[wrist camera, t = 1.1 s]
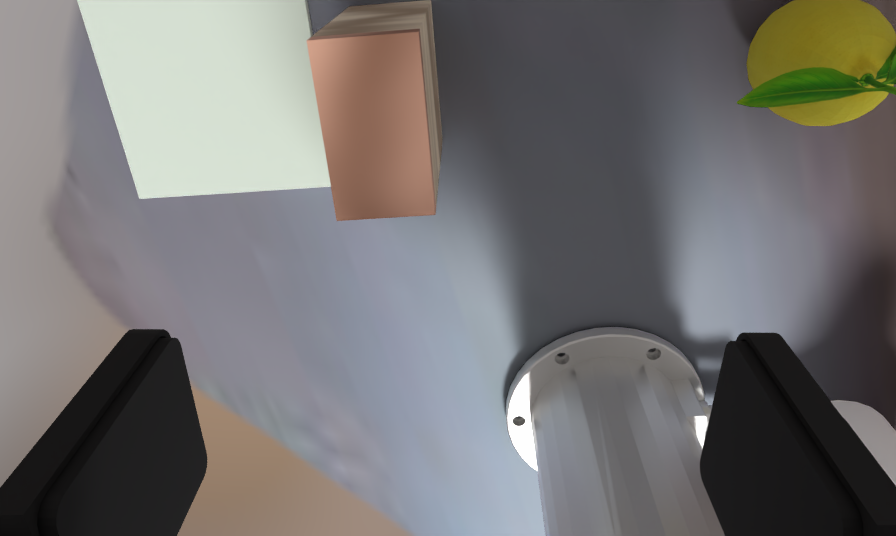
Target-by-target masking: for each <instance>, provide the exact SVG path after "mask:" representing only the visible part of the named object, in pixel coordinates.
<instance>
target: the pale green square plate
mask: <svg viewBox="0 0 896 536" xmlns="http://www.w3.org/2000/svg"><path fill="white" fill-rule="evenodd" d="M77 1H78V4H79V8H80V11H81V14H82V17H83V20H84V23H85V27H86V30H87V33H88V36H89V39H90V42H91V46H92V49H93V52H94V55H95V58H96V62H97V65H98V68H99V71H100V74H101V77H102V81H103V84H104V87H105V90H106V93H107V97H108V100H109V103H110V106H111V109H112V112H113V116H114V119H115V122H116V125H117V128H118V132H119V135H120V138H121V141H122V144H123V147H124V151H125V154H126V157H127V160H128V163H129V166H130V170H131V173H132V176H133V179H134V182H135V186H136V189H137V192H138V195H139V198H140V199H145V198H160V197H176V196H191V195H207V194H223V193H238V192H254V191H269V190H285V189H300V188H316V187H331V183H330V177H329V172H328V166H327V160H326V154H325V148H324V142H323V136H322V130H321V124H320V118H319V112H318V106H317V100H316V94H315V88H314V82H313V76H312V71H311V65H310V59H309V53H308V47H307V41H306V40H308V39H309V38H310V37H311V36H313V32H312V26H311V20H310V14H309V8H308V2H307V0H77Z"/></svg>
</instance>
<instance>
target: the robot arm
mask: <svg viewBox="0 0 896 536" xmlns="http://www.w3.org/2000/svg"><path fill="white" fill-rule="evenodd" d="M506 420H507V428H508V433H509V436H510V439H511V441H512V444H513V446H514V447H515V449H516V450H517V452H518V453H519V455H520V456H521V457H522V458H523V459H524V460H525V461H526V462H527V463H528V464H529V465H530V466H531V467H532V468H534V469H535V470H537V473H538V481H539V489H540V496H541V504H542V511H543V519H544V527H545V534H546V536H896V485H895V484H894V483H893V482H892V480H891V479H890V478H889V476H888V475H887V474H886V472H885V471H884V470H883V468H882V467H881V466H880V464H879V463H878V462H877V460H876V459H875V458H874V456H873V455H872V454H871V452H870V451H869V450H868V449H867V447H866V446H865V445H864V443H863V442H862V441H861V439H860V438H859V437H858V435H857V434H856V433H855V431H854V430H853V429H852V427H851V426H850V425H849V423H848V422H847V421H846V420H845V419H844V418H843V417H842V416H841V414H840V413H839V412H838V410H837V409H836V408H835V407H834V405H833V404H832V403H831V401H830V400H829V399H828V397H827V396H826V395H825V393H824V392H823V391H822V389H821V388H820V387H819V385H818V384H817V383H816V381H815V380H814V379H813V377H812V376H811V375H810V373H809V372H808V371H807V369H806V368H805V367H804V365H803V364H802V363H801V361H800V360H799V359H798V358H797V356H796V355H795V354H794V352H793V351H792V350H791V348H790V347H789V346H788V344H787V343H786V342H785V340H784V339H783V338H782V337H781V336H780V335H779V334H777V333H741V334H740V335H739V336H738V337H737V340H736V341H730V342H728V344H727V345H726V348H725V352H724V357H723V361H722V366H721V370H720V374H719V379H718V383H717V387H716V392H715V396H714V401H713V405H708V404H707V402H706V401H705V397H704V391H703V388H702V385H701V381H700V379H699V377H698V375H697V373H696V371H695V369H694V367H693V365H692V364H691V363H690V361H689V360H688V359H687V358H686V356H685V355H684V354H683V353H682V352H681V351H680V350H679V349H677V348H676V347H675V346H673V345H672V344H671V343H670V342H668V341H666V340H664V339H662V338H660V337H658V336H656V335H654V334H651V333H648V332H644V331H641V330H637V329H631V328H622V327H603V328H593V329H588V330H583V331H579V332H575V333H572V334H570V335H567V336H565V337H562V338H559V339H557V340H555V341H554V342H552V343H550V344H549V345H547V346H545V347H543V348H542V349H540V350H539V351H538V352H537V353H536V354H535V355H533V356H532V357H531V358H530V359H529V360H528V361H527V362H526V363H525V364H524V365H523V367H522V368H521V369H520V370H519V372H518V373H517V375H516V377H515V378H514V380H513V382H512V384H511V386H510V389H509V393H508V397H507V400H506ZM206 468H207V454H206V449H205V445H204V440H203V436H202V432H201V428H200V424H199V419H198V415H197V411H196V407H195V403H194V399H193V394H192V390H191V386H190V381H189V377H188V373H187V369H186V365H185V360H184V356H183V352H182V348H181V344H180V342H179V340H178V339H177V338H171V337H170V334H169V333H168V332H167V331H166V330H164V329H132V330H129V331H128V332H127V333H125V335H124V336H123V337H122V338H121V340H120V341H119V342H118V343H117V345H116V346H115V347H114V348H113V349H112V351H111V352H110V353H109V354H108V356H107V357H106V358H105V359H104V361H103V362H102V363H101V364H100V365H99V367H98V368H97V369H96V370H95V372H94V373H93V374H92V375H91V377H90V378H89V379H88V380H87V382H86V383H85V384H84V385H83V386H82V388H81V389H80V390H79V392H78V393H77V394H76V395H75V396H74V398H73V399H72V400H71V401H70V403H69V404H68V405H67V406H66V407H65V409H64V410H63V411H62V412H61V414H60V415H59V416H58V417H57V418H56V420H55V421H54V422H53V423H52V425H51V426H50V427H49V428H48V430H47V431H46V432H45V433H44V435H43V436H42V437H41V438H40V439H39V441H38V442H37V443H36V444H35V446H34V447H33V448H32V449H31V451H30V452H29V453H28V454H27V456H26V457H25V458H24V459H23V460H22V462H21V463H20V464H19V465H18V466H17V468H16V469H15V470H14V471H13V473H12V474H11V475H10V476H9V478H8V479H7V480H6V481H5V482H4V484H3V485H2V486H1V487H0V536H177V534H178V532H179V530H180V528H181V526H182V523H183V521H184V519H185V517H186V515H187V513H188V510H189V508H190V506H191V504H192V502H193V500H194V498H195V495H196V493H197V491H198V489H199V487H200V484H201V483H202V480H203V478H204V476H205V473H206Z"/></svg>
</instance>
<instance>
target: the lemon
mask: <svg viewBox="0 0 896 536" xmlns="http://www.w3.org/2000/svg"><path fill="white" fill-rule="evenodd" d="M747 71H748V80H749V82H750V84H751V86H752V88H753V90H752V91H751V92H750V93H748V94H747V95H746V96H744V97H743V98H742V99H740V100H739V101H737V104H741V105H745V106H749V107H768V108H769V109H770V110H772V111H773V112H774V113H776V114H777V115H779V116H781V117H783V118H785V119H788V120H790V121H793V122H796V123H798V124H801V125H806V126H832V125H836V124H839V123H843V122H847V121H851V120H854V119H856V118H858V117H860V116H862V115H864V114H866V113H868V112H869V111H871V110H872V109H874V108H875V107H876V106H877V105H878V104H879V103H880V102H881V101H883V100H884V99H885V98H886V97H887V95H888V93H892V94H895V95H896V87H893V86H894V84H896V34H895V31H894V29H893V27H892V25H891V24H890V23H889V22H888V20H887V19H886V18H885V17H884V16H883V15H882V14H881V12H880V11H879V10H878V9H876V8H875V7H874V6H872V5H870V4H868V3H865V2H863V1H860V0H794V1H791V2H789V3H788V4H786V5H784V6H783V7H781V8H779V9H778V10H776V11H774V12H773V13H772V14H771V15H770V16H769V17H768V18H767V19H766V21H765V22H764V23H763V24H762V25H761V26H760V27H759V29H758V31H757V33H756V35H755V36H754V38H753V40H752V42H751V44H750V48H749V53H748V58H747Z"/></svg>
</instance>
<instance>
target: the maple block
mask: <svg viewBox="0 0 896 536" xmlns="http://www.w3.org/2000/svg"><path fill="white" fill-rule="evenodd" d="M306 41H307V47H308V53H309V59H310V65H311V71H312V76H313V82H314V88H315V94H316V100H317V106H318V112H319V118H320V124H321V130H322V136H323V142H324V148H325V154H326V160H327V166H328V172H329V177H330V183H331V189H332V195H333V201H334V207H335V213H336V219H337V221H343V220H359V219H375V218H392V217H408V216H424V215H435V213H436V203H437V193H438V182H439V172H440V161H441V151H442V128H441V116H440V104H439V91H438V79H437V67H436V55H435V42H434V30H433V18H432V6H431V0H424V1H412V2H399V3H386V4H374V5H361V6H349V7H348V8H347V9H346V10H344V11H343V12H342V13H340V14H339V15H338V16H337V17H335V18H334V19H333V20H332V21H330V22H329V23H328V24H327V25H325V26H324V27H323V28H322V29H320V30H319V31H318V32H317V33H315V34H314V35H313V36H311V37H310V38H309V39H308V40H306Z"/></svg>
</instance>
